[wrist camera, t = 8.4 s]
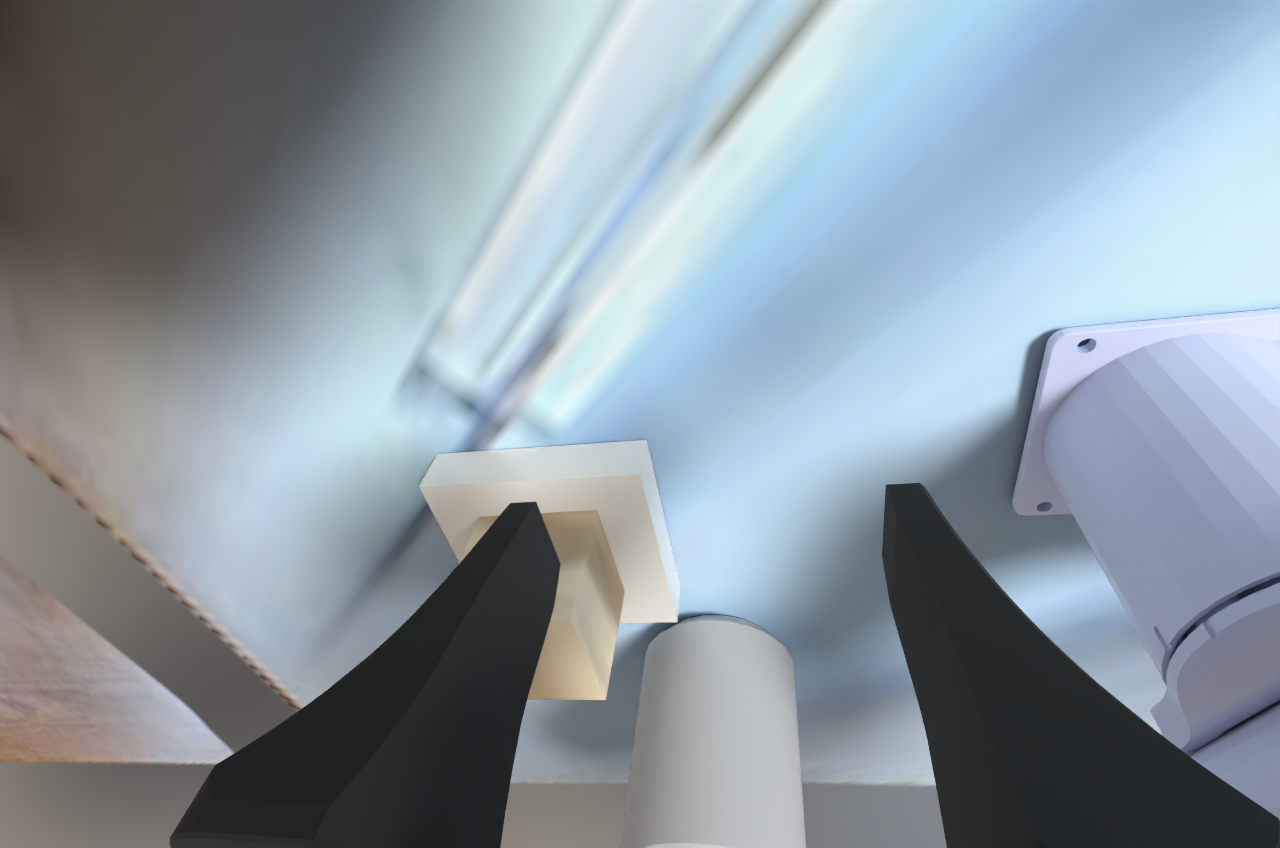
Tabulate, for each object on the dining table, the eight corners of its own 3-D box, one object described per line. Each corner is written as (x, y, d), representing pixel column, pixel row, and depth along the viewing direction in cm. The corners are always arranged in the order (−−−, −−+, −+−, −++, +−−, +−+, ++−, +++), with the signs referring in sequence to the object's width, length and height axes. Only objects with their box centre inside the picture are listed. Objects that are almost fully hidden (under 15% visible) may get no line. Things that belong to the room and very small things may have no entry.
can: (697, 699, 37) (681, 967, 27) (618, 628, 33) (570, 906, 24) (819, 669, 33) (848, 963, 24) (745, 587, 30) (746, 891, 21)
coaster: (646, 439, 25) (640, 474, 24) (680, 586, 31) (677, 622, 29) (437, 453, 27) (418, 486, 26) (504, 589, 32) (491, 623, 31)
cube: (596, 509, 25) (570, 619, 21) (625, 591, 28) (606, 700, 24) (479, 516, 26) (433, 622, 22) (518, 593, 29) (483, 698, 25)
